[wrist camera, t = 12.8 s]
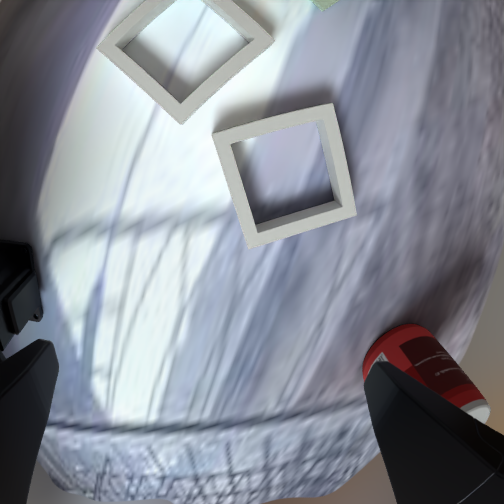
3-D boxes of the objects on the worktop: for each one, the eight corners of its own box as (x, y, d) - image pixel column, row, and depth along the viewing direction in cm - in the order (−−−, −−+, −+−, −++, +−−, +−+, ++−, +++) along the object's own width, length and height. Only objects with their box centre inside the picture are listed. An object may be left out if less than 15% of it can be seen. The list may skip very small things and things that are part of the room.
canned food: (366, 395, 29) (408, 480, 19) (351, 346, 25) (406, 448, 15) (429, 360, 28) (483, 434, 18) (426, 306, 25) (499, 387, 15)
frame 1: (182, 124, 17) (180, 124, 16) (104, 52, 15) (96, 47, 13) (270, 46, 16) (275, 40, 14) (190, -24, 13) (188, -34, 12)
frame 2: (245, 240, 20) (248, 249, 19) (211, 133, 18) (211, 134, 16) (347, 208, 20) (356, 215, 19) (323, 104, 18) (332, 103, 16)
